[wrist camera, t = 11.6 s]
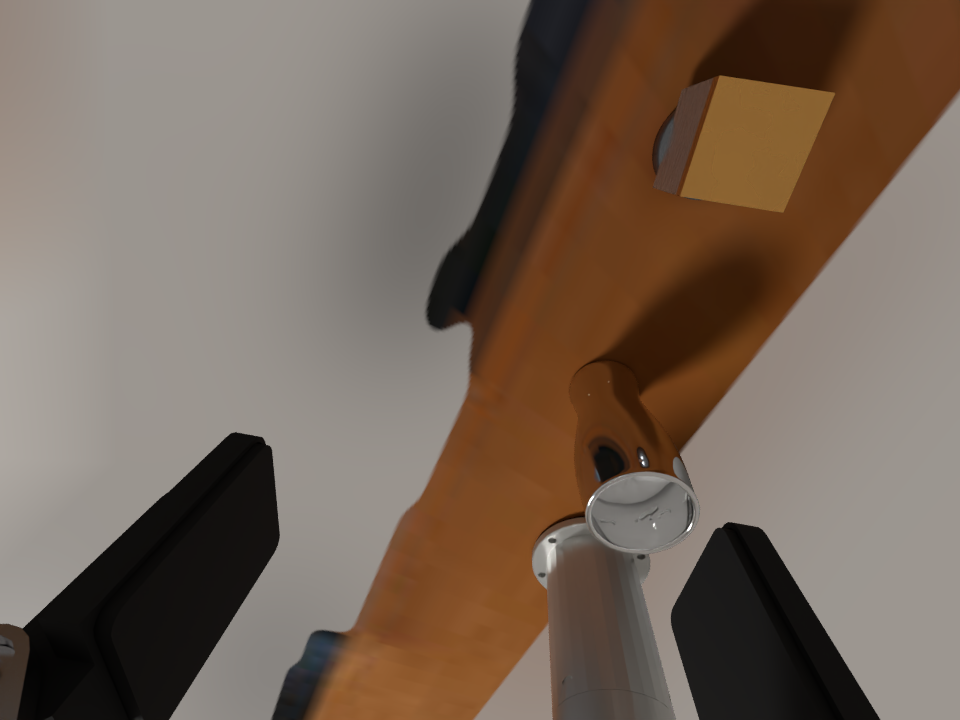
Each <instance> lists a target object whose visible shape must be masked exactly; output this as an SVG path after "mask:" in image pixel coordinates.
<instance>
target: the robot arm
mask: <svg viewBox="0 0 960 720" xmlns="http://www.w3.org/2000/svg"><path fill="white" fill-rule="evenodd" d="M279 536H280V534H279V522H278V511H277V501H276V489H275V478H274V467H273V456H272V449H271V447H270V446H268V445H266V444H265V441H264V439H263V438H262V437H258V436H253V435H247V434H242V433H236V432H235V433H231V434H230V435H229V436H227V437H226V438H225V439H224V440H223V441H222V442H221V443H220V444H219V445H218V446H217V447H216V448H215V449H214V450H213V451H211V452H210V453H209V454H208V455H207V456H206V457H205V458H204V459H203V460H202V461H201V462H200V463H199V464H198V465H197V466H196V467H195V468H194V469H193V470H191V471H190V472H189V473H188V474H187V475H186V476H185V477H184V478H183V479H182V480H181V481H180V482H179V483H178V484H177V485H176V486H175V487H174V488H173V489H171V490H170V491H169V492H168V493H166V494H165V495H164V496H163V497H161V498H160V499H159V500H158V501H157V502H156V503H155V504H154V505H153V506H152V507H151V508H149V509H148V510H147V511H146V512H145V513H144V514H143V515H142V516H141V517H140V518H139V519H138V520H137V521H136V522H135V523H134V524H133V525H131V526H130V527H129V528H128V530H126V531H125V532H124V533H123V534H122V535H121V536H120V537H119V538H118V539H117V540H116V541H115V542H114V543H112V544H111V545H110V546H109V547H108V548H107V549H106V550H105V551H104V552H103V553H102V554H101V555H100V556H99V557H98V558H97V559H96V560H95V561H94V562H93V563H91V564H90V565H89V566H88V567H87V568H86V569H85V570H84V571H83V572H82V573H81V574H80V575H79V576H78V577H77V578H76V579H74V580H73V581H72V582H71V583H70V584H69V585H68V586H67V587H66V588H65V589H64V590H63V591H62V592H61V593H60V594H59V595H58V596H57V597H55V598H54V599H53V600H52V601H51V602H50V603H49V604H48V605H47V606H46V607H45V608H44V609H43V610H42V611H41V612H40V613H39V614H38V615H36V616H35V617H34V618H33V619H32V620H31V621H30V622H29V623H28V624H27V625H26V626H25V627H24V628H23V629H22V628H20V627H17V626H13V625H10V624H0V720H169V719H170V717H171V716H172V714H173V712H174V711H175V709H176V707H177V706H178V704H179V703H180V701H181V700H182V698H183V697H184V695H185V693H186V692H187V690H188V689H189V687H190V686H191V684H192V682H193V681H194V679H195V677H196V676H197V674H198V673H199V671H200V670H201V668H202V667H203V665H204V663H205V662H206V660H207V659H208V657H209V655H210V654H211V652H212V651H213V649H214V647H215V646H216V644H217V643H218V641H219V640H220V638H221V636H222V635H223V633H224V632H225V630H226V628H227V627H228V625H229V624H230V622H231V621H232V619H233V617H234V616H235V614H236V613H237V611H238V609H239V608H240V606H241V604H242V603H243V601H244V600H245V598H246V597H247V595H248V594H249V592H250V590H251V589H252V587H253V586H254V584H255V583H256V581H257V579H258V578H259V576H260V575H261V573H262V571H263V570H264V568H265V566H266V565H267V563H268V562H269V560H270V559H271V557H272V556H273V554H274V552H275V550H276V548H277V546H278V542H279ZM532 567H533V571H534V574H535V576H536V578H537V579H538V581H539V582H540V583H541V584H542V585H543V586H544V587H545V588H546V589H547V597H548V621H549V645H550V668H551V692H552V715H553V720H676V718H675V714H674V710H673V706H672V703H671V699H670V695H669V691H668V687H667V683H666V679H665V676H664V672H663V668H662V664H661V660H660V656H659V652H658V648H657V645H656V641H655V637H654V633H653V629H652V625H651V621H650V618H649V613H648V609H647V606H646V602H645V598H644V594H643V590H642V586H641V584H642V583H643V582H644V581H645V579H646V577H647V575H648V572H649V570H650V558H649V554H629V553H624V552H619V551H616V550H613V549H611V548H609V547H607V546H605V545H604V544H602V543H601V542H599V541H598V540H597V539H596V538H595V537H594V536H593V535H592V533H591V532H590V530H589V529H588V526H587V524H586V519H585V517H580V518H574V519H569V520H566V521H563V522H560V523H558V524H556V525H554V526H552V527H550V528H549V529H547V530H546V531H545V532H544V533H543V534H542V535H541V536H540V537H539V538H538V540H537V541H536V543H535V545H534V548H533V552H532ZM671 625H672V630H673V633H674V636H675V640H676V643H677V646H678V650H679V653H680V656H681V660H682V663H683V666H684V670H685V673H686V676H687V679H688V683H689V687H690V690H691V693H692V697H693V700H694V703H695V706H696V710H697V713H698V717H699V720H880V719H879V717H878V715H877V714H876V712H875V710H874V709H873V707H872V705H871V704H870V703H869V701H868V699H867V697H866V696H865V694H864V693H863V691H862V690H861V688H860V686H859V685H858V683H857V681H856V680H855V678H854V676H853V675H852V673H851V671H850V670H849V668H848V667H847V665H846V663H845V662H844V660H843V658H842V657H841V655H840V654H839V652H838V650H837V649H836V647H835V646H834V644H833V642H832V641H831V639H830V637H829V636H828V634H827V633H826V631H825V629H824V628H823V626H822V624H821V623H820V621H819V620H818V618H817V616H816V615H815V613H814V611H813V610H812V608H811V606H810V605H809V603H808V602H807V600H806V599H805V597H804V595H803V594H802V592H801V590H800V589H799V587H798V585H797V584H796V582H795V581H794V579H793V577H792V576H791V574H790V572H789V571H788V569H787V568H786V566H785V564H784V563H783V561H782V560H781V558H780V556H779V555H778V553H777V551H776V550H775V548H774V546H773V545H772V543H771V542H770V540H769V538H768V537H767V535H766V534H765V532H763V530H762V529H760V528H759V527H754V526H748V525H743V524H737V523H732V522H731V523H730V522H728V523H726V524H725V525H724V526H723V527H722V528H717V529H716V530H715V531H714V532H713V534H712V536H711V538H710V540H709V542H708V543H707V545H706V547H705V549H704V551H703V553H702V555H701V556H700V558H699V561H698V562H697V564H696V566H695V568H694V570H693V572H692V573H691V575H690V577H689V579H688V581H687V583H686V584H685V586H684V588H683V590H682V592H681V594H680V596H679V597H678V599H677V601H676V603H675V605H674V607H673V609H672V613H671Z"/></svg>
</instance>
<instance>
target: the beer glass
mask: <svg viewBox="0 0 960 720" xmlns="http://www.w3.org/2000/svg"><path fill="white" fill-rule="evenodd" d="M569 398H570V401H571V404H572V406H573V408H574V410H575V411H576V413H577V417H578V420H577V429H576V436H575V445H574V465H575V475H576V480H577V485H578V490H579V494H580V498H581V502H582V506H583V509H584V513H585V519H586V524H587V526H588V529H589V530H590V532H591V533H592V535H593V536H594V537H595V538H596V539H597V540H598V541H599V542H601V543H602V544H604V545H605V546H607V547H609V548H611V549H613V550H616V551H619V552H624V553H629V554H650V553H656V552H660V551H663V550H666V549H669V548H671V547H673V546H675V545H677V544H679V543H680V542H682V541H683V540H684V539H685V538H686V537H687V536H689V535H690V534H691V532H692V531H693V530H694V528H695V526H696V524H697V522H698V519H699V514H700V507H699V502H698V499H697V497H696V495H695V493H694V490H693V488H692V485H691V482H690V479H689V476H688V473H687V470H686V468H685V465H684V463H683V461H682V458H681V456H680V454H679V452H678V450H677V448H676V446H675V444H674V442H673V441H672V439H671V437H670V436H669V434H668V433H667V431H666V430H665V429H664V427H663V426H662V425H661V423H660V422H659V421H658V420H657V419H656V418H655V416H654V415H653V414H652V413H651V412H650V411H649V410H648V409H647V407H646V406H645V405H644V404H643V403H642V401H641V399H640V392H639V385H638V381H637V379H636V377H635V375H634V373H633V372H632V371H631V370H630V369H629V368H628V367H626V366H625V365H623V364H621V363H618V362H615V361H608V360H604V361H597V362H593V363H590V364H588V365H586V366H584V367H583V368H581V369H580V370H579V371H578V372H577V373H576V374H575V376H574V377H573V379H572V381H571V383H570V387H569Z"/></svg>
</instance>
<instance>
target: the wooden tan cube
mask: <svg viewBox="0 0 960 720" xmlns="http://www.w3.org/2000/svg"><path fill="white" fill-rule="evenodd" d="M834 95H835V93H832V92H826V91H819V90H813V89H806V88H800V87H793V86H786V85H780V84H773V83H767V82H760V81H753V80H747V79H740V78H734V77H727V76H720V75H719V76H717V77H714V78H712V79H709V80H706V81H704V82H701V83H699V84H696V85H693V86H691V87H688V88H685V89H683V90H682V92H681V95H680V99H679V102H678V105H677V109H676V112H675V115H674V119H673V122H672V125H671V129H670V132H669V135H668V139H667V142H666V145H665V149H664V152H663V155H662V159H661V162H660V165H659V169H658V172H657V176H656V179H655V182H654V186H653V188H656V189H659V190H662V191H665V192H668V193H672V194H675V195H678V196H682V197H688V198H695V199H701V200H707V201H713V202H720V203H726V204H732V205H738V206H745V207H751V208H757V209H763V210H770V211H776V212H782V213H783V212H784V210H785V207H786V205H787V203H788V200H789V198H790V196H791V194H792V191H793V189H794V187H795V184H796V182H797V180H798V177H799V175H800V173H801V171H802V168H803V166H804V164H805V161H806V159H807V157H808V155H809V152H810V150H811V148H812V145H813V143H814V141H815V139H816V136H817V134H818V132H819V129H820V127H821V125H822V123H823V120H824V118H825V116H826V113H827V111H828V109H829V106H830V104H831V102H832V100H833V97H834Z"/></svg>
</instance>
